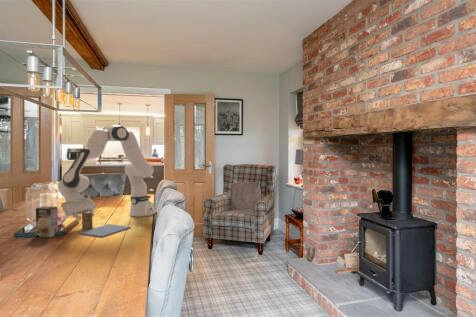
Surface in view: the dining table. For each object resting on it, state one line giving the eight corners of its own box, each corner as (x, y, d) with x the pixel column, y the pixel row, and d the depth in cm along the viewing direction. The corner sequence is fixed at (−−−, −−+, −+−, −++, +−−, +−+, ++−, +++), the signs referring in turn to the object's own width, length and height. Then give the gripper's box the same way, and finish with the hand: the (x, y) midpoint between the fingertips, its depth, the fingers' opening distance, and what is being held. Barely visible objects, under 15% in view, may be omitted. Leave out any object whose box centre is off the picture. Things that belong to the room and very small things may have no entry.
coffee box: (35, 237, 170) (34, 208, 169) (43, 233, 176) (43, 206, 176) (50, 237, 169) (50, 208, 168) (58, 234, 175) (58, 206, 175)
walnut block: (87, 227, 190) (87, 211, 190) (92, 228, 189) (92, 212, 188) (82, 229, 187) (82, 212, 186) (87, 229, 185) (86, 213, 185)
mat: (108, 225, 195) (108, 224, 195) (130, 228, 188) (130, 226, 188) (78, 234, 175) (78, 232, 175) (101, 237, 168) (101, 236, 168)
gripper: (62, 199, 181) (74, 217, 177) (91, 195, 199) (102, 211, 196) (57, 206, 183) (68, 224, 179) (86, 201, 201) (97, 217, 198)
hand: (86, 217), depth 188 cm, fingers open, 8 cm apart
